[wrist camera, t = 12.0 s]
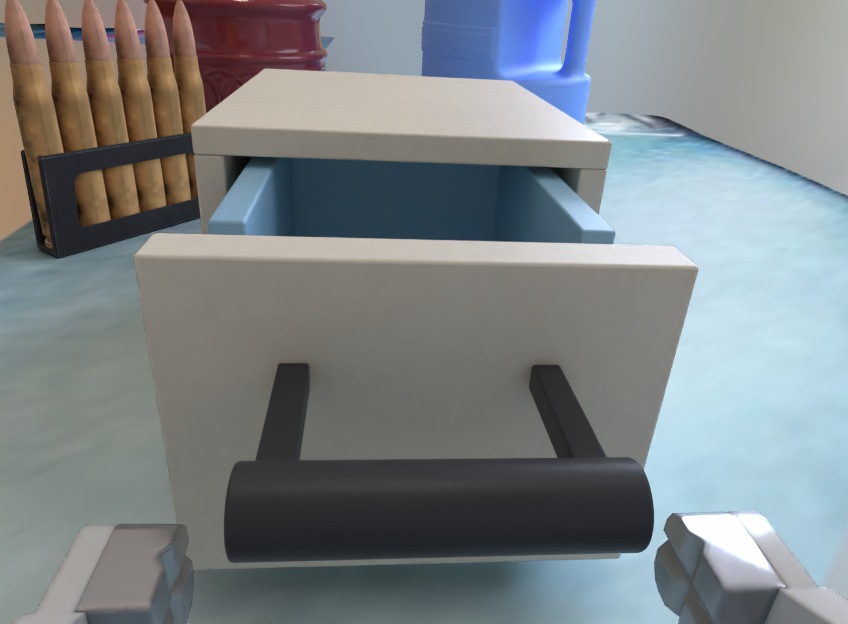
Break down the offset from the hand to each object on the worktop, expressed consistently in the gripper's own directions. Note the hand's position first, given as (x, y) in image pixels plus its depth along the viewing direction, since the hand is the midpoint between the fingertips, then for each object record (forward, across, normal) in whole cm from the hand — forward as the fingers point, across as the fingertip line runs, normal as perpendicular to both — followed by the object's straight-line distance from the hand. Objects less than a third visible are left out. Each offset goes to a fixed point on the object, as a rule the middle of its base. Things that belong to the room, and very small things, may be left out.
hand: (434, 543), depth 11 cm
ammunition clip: (+28, +14, +5) cm, 32 cm away
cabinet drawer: (+7, 0, +4) cm, 8 cm away
